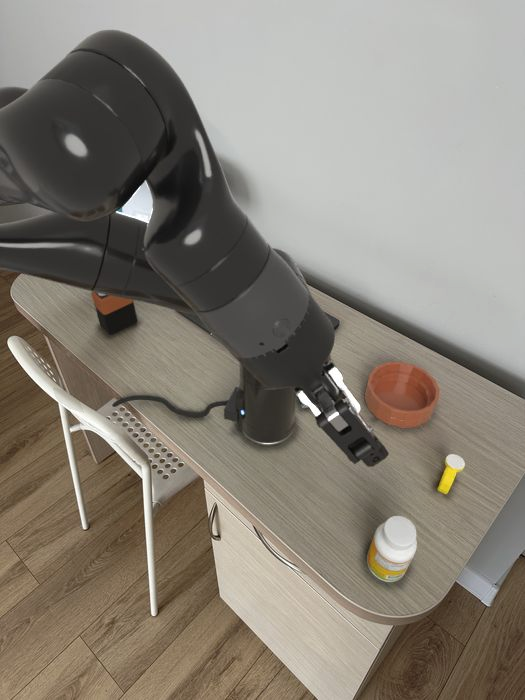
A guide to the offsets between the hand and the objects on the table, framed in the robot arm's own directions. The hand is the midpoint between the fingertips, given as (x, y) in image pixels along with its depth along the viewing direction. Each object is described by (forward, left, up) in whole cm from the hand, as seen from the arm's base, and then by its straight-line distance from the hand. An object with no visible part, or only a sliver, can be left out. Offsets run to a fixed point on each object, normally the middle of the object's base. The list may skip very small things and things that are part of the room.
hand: (358, 426), depth 46 cm
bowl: (+6, +33, -31) cm, 46 cm away
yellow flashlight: (+15, +18, -31) cm, 39 cm away
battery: (-53, +35, -31) cm, 71 cm away
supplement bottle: (+8, +3, -31) cm, 32 cm away
